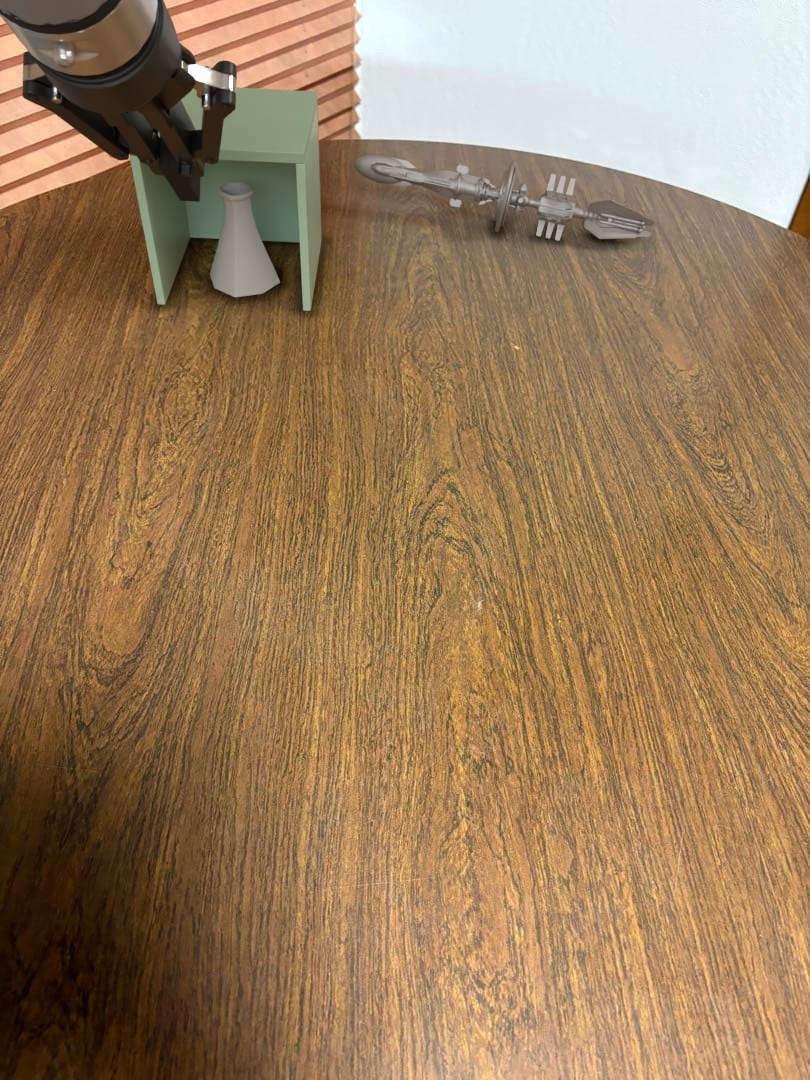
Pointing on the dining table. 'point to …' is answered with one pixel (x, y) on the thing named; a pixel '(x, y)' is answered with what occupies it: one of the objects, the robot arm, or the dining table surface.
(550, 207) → the spaceship
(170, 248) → the green open shelf box
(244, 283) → the flask
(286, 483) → the dining table surface
